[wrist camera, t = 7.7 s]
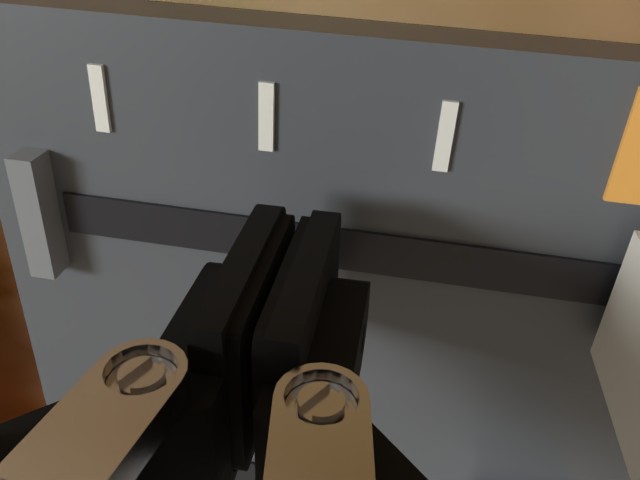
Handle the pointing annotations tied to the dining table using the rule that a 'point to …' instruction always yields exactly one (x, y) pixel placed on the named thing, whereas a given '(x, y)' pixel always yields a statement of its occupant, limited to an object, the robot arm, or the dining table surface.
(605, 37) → the dining table surface
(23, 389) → the dining table surface
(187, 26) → the console
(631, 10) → the dining table surface
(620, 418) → the fader
